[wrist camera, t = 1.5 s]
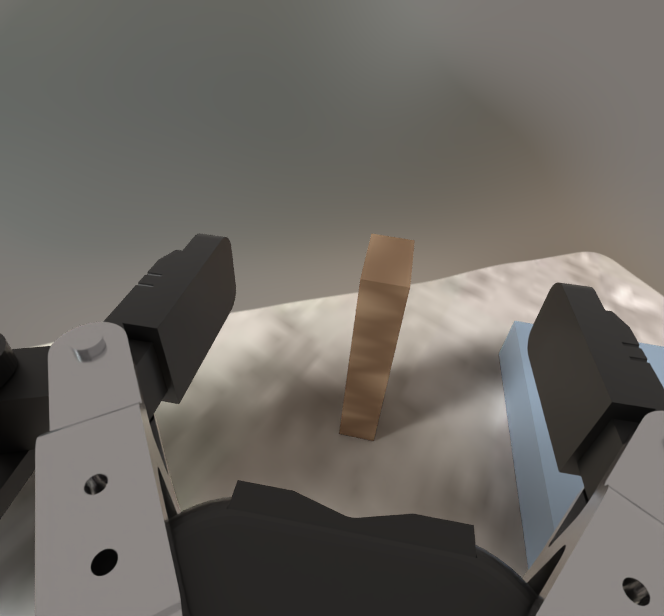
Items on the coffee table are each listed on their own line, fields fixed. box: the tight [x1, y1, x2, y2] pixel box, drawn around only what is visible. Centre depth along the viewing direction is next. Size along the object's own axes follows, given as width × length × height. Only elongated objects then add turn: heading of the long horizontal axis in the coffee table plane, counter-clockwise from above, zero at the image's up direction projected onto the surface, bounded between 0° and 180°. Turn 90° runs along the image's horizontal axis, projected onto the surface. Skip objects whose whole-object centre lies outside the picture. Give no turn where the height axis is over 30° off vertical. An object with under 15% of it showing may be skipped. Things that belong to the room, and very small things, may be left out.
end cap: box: [499, 321, 664, 570], centre depth 29 cm, size 12×18×4 cm, turn 169°
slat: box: [339, 234, 414, 441], centre depth 27 cm, size 2×4×14 cm, turn 169°
